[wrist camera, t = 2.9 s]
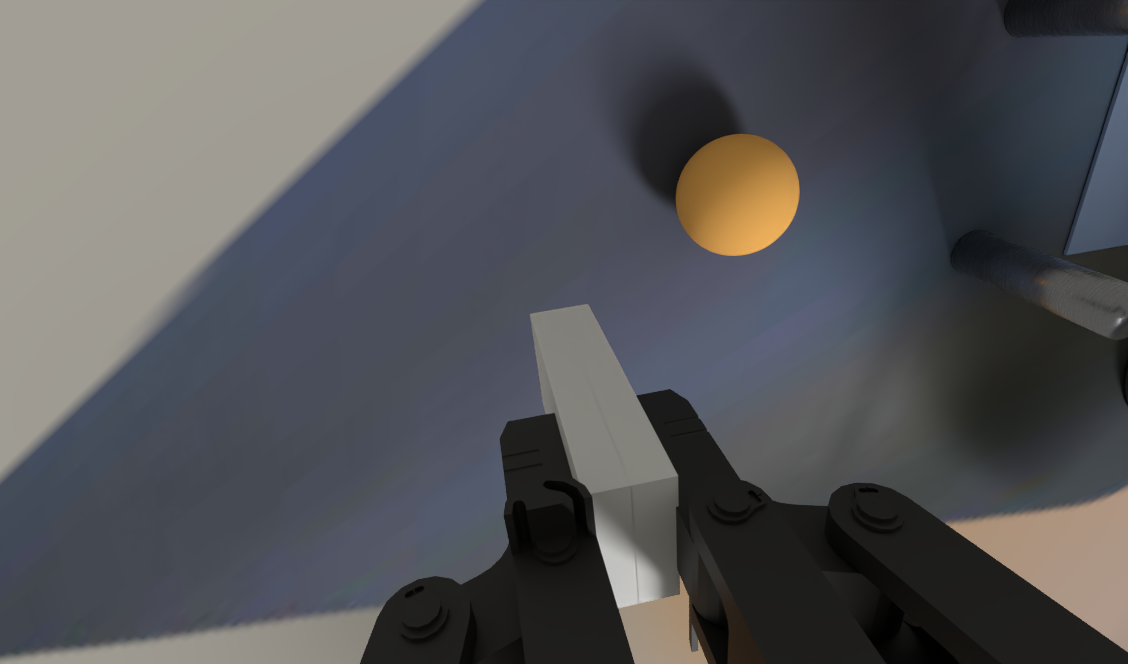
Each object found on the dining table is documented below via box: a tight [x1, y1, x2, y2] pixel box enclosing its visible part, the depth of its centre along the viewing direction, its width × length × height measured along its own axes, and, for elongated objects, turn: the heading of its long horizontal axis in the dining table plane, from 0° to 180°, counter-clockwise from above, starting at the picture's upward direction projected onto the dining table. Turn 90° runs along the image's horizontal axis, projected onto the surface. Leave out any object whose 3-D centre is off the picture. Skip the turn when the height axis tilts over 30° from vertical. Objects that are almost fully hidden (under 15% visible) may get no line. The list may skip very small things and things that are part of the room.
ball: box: [676, 134, 800, 256], centre depth 27 cm, size 6×6×6 cm
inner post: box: [951, 231, 1128, 340], centre depth 30 cm, size 2×2×9 cm
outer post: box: [1005, 0, 1128, 37], centre depth 24 cm, size 2×2×9 cm
